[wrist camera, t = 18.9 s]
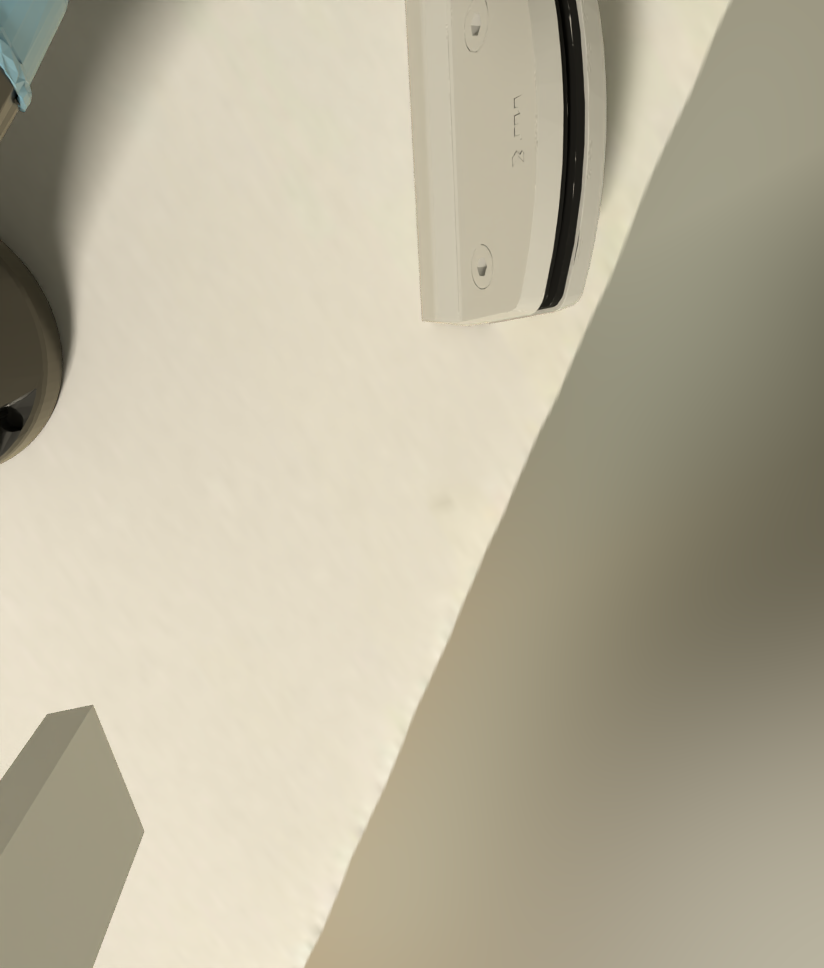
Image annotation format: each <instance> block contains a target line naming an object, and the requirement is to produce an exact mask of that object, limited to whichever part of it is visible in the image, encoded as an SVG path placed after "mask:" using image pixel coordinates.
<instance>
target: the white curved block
mask: <svg viewBox="0 0 824 968" xmlns="http://www.w3.org/2000/svg"><path fill="white" fill-rule="evenodd" d="M405 8H406V27H407V46H408V65H409V84H410V103H411V122H412V141H413V160H414V178H415V197H416V216H417V235H418V254H419V273H420V292H421V311H422V321H425V322H435V323H446V324H454V325H463V326H473V325H478V324H483V323H489V324H493V323H498V322H503V321H509V320H514V319H520V318H525V317H531V316H536V315H542V314H547V313H553V312H556V311H559V310H562V309H564V308H567V307H570V306H572V305H574V304H576V303H577V302H578V301H579V299H580V298H581V296H582V294H583V290H584V286H585V282H586V278H587V274H588V270H589V266H590V261H591V257H592V252H593V247H594V242H595V237H596V231H597V224H598V218H599V211H600V204H601V196H602V188H603V177H604V164H605V149H606V110H607V96H606V72H605V56H604V43H603V34H602V26H601V17H600V11H599V5H598V0H405Z"/></svg>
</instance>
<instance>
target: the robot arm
mask: <svg viewBox="0 0 824 968" xmlns="http://www.w3.org/2000/svg"><path fill="white" fill-rule="evenodd" d="M68 1H69V0H0V141H1V140H2V138H3V136H4V135H5V133H6V131H7V129H8V128H9V126H10V124H11V122H12V121H13V119H14V117H15V115H16V114H17V112H18V110H19V111H22V112H25V111H26V109H27V107H28V106H29V104H30V103H31V98H32V92H31V88H30V84H31V82H32V80H33V78H34V76H35V74H36V72H37V70H38V68H39V66H40V64H41V62H42V60H43V58H44V56H45V53H46V51H47V49H48V47H49V45H50V43H51V41H52V39H53V37H54V35H55V33H56V31H57V29H58V27H59V25H60V23H61V21H62V19H63V17H64V14H65V12H66V9H67V5H68ZM61 379H62V350H61V343H60V337H59V333H58V328H57V325H56V322H55V319H54V316H53V313H52V311H51V308H50V306H49V304H48V302H47V299H46V297H45V295H44V294H43V292H42V290H41V288H40V286H39V285H38V283H37V282H36V280H35V279H34V277H33V276H32V274H31V273H30V272H29V270H28V269H27V267H26V266H25V265H24V264H23V263H22V261H21V260H20V259H19V258H18V257H17V256H16V255H15V254H14V253H13V252H12V250H11V249H10V248H8V247H7V246H6V245H5V244H4V243H3V242H2V241H1V240H0V464H2V463H4V462H5V461H7V460H9V459H11V458H12V457H14V456H15V455H17V454H18V453H20V452H21V451H22V450H23V449H25V448H26V447H27V446H28V445H29V444H30V443H31V442H32V441H33V440H34V439H35V438H36V437H37V435H38V434H39V433H40V432H41V430H42V429H43V428H44V426H45V425H46V423H47V421H48V419H49V418H50V416H51V414H52V411H53V409H54V407H55V404H56V401H57V398H58V394H59V390H60V385H61ZM143 834H144V829H143V827H142V824H141V822H140V819H139V817H138V814H137V812H136V809H135V807H134V804H133V802H132V799H131V797H130V795H129V792H128V790H127V787H126V785H125V782H124V780H123V777H122V775H121V772H120V770H119V767H118V765H117V763H116V760H115V758H114V755H113V753H112V750H111V748H110V745H109V743H108V740H107V738H106V735H105V733H104V731H103V728H102V726H101V723H100V721H99V718H98V716H97V713H96V711H95V708H94V706H93V705H90V706H85V707H80V708H75V709H70V710H65V711H61V712H56V713H51V714H47V715H46V717H45V718H44V720H43V721H42V722H41V724H40V725H39V727H38V728H37V729H36V731H35V732H34V734H33V735H32V737H31V738H30V739H29V741H28V742H27V744H26V745H25V746H24V748H23V749H22V751H21V752H20V754H19V755H18V756H17V758H16V759H15V761H14V762H13V764H12V765H11V766H10V768H9V769H8V771H7V772H6V773H5V775H4V776H3V778H2V779H1V781H0V968H93V965H94V963H95V960H96V957H97V955H98V952H99V949H100V947H101V944H102V942H103V939H104V936H105V934H106V931H107V928H108V926H109V923H110V920H111V918H112V915H113V913H114V910H115V907H116V905H117V902H118V899H119V897H120V894H121V892H122V889H123V886H124V884H125V881H126V878H127V876H128V873H129V870H130V868H131V865H132V863H133V860H134V857H135V855H136V852H137V849H138V847H139V844H140V841H141V839H142V836H143Z"/></svg>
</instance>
